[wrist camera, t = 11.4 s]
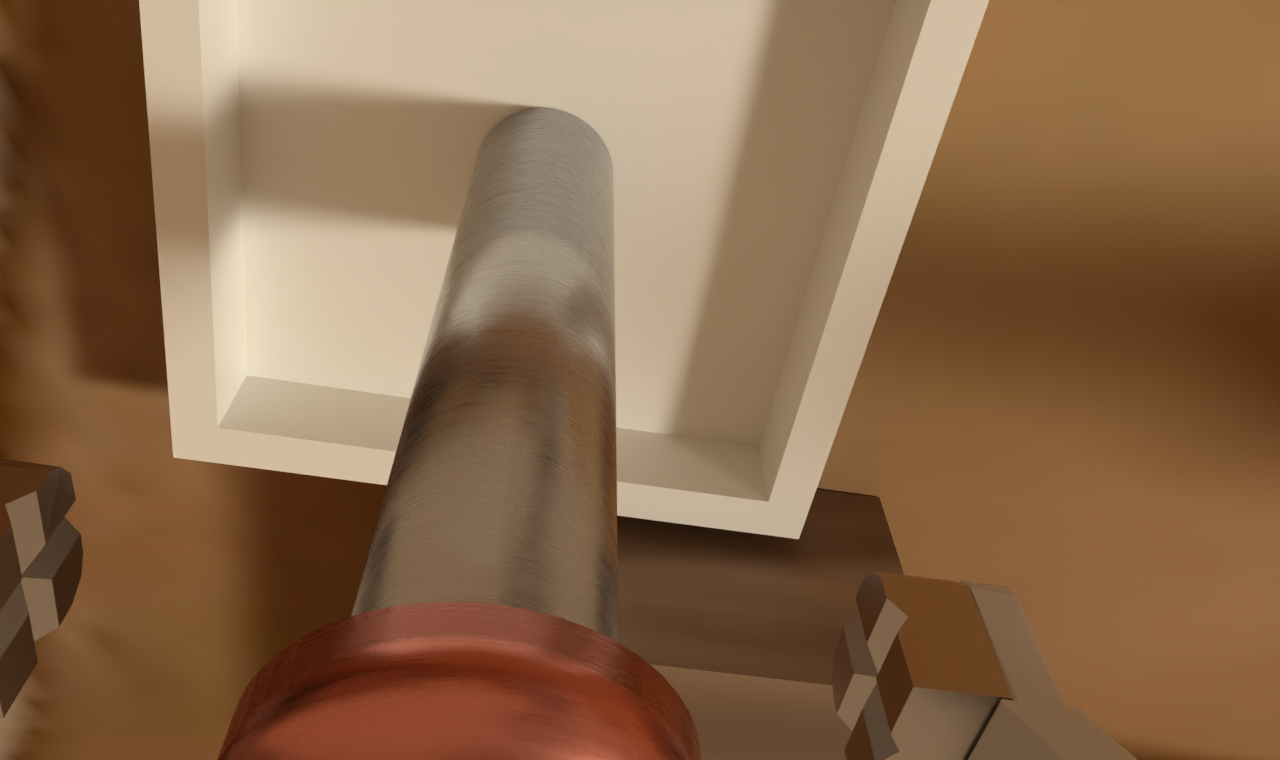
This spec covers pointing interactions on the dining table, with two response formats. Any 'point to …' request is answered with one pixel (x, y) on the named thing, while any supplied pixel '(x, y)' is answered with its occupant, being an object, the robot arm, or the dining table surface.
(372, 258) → the tray
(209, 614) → the dining table surface
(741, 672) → the block
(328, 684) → the pin
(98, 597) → the dining table surface
